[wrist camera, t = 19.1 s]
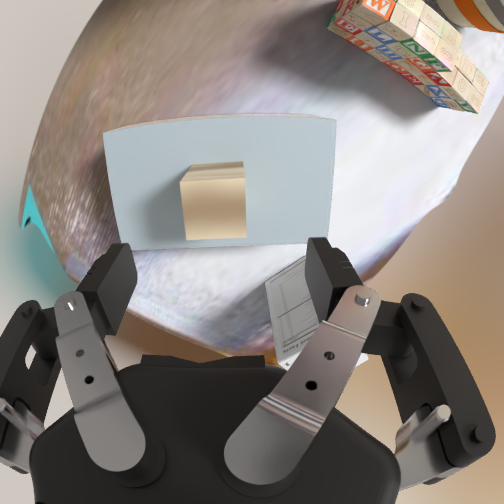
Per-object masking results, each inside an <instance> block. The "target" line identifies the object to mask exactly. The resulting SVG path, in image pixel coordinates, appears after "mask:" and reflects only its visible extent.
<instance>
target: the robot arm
mask: <svg viewBox="0 0 504 504" xmlns="http://www.w3.org/2000/svg"><path fill="white" fill-rule="evenodd" d="M305 280H306V283H307V286H308V289H309V292H310V296H311V299H312V302H313V305H314V308H315V311H316V314H317V318H318V321H319V324H320V325H319V326H318V328H317V329H316V331H315V332H314V334H313V335H312V337H311V338H310V340H309V341H308V343H307V344H306V345H305V347H304V348H303V350H302V351H301V353H300V354H299V355H298V357H297V358H296V360H295V361H294V362H293V364H292V365H291V367H290V368H289V369H288V371H286V370H284V369H282V368H279V367H276V366H272V365H267V364H265V359H264V355H260V356H233V357H228V358H224V359H220V360H215V361H210V362H205V363H197V362H192V361H188V360H184V359H180V358H177V357H173V356H160V355H142V359H141V363H139V364H135V365H131V366H128V367H126V368H124V369H122V370H120V371H119V370H118V368H117V366H116V364H115V362H114V359H113V358H112V355H111V353H110V351H109V349H108V346H107V344H106V342H105V340H104V338H105V335H116V333H117V331H118V328H119V326H120V323H121V321H122V318H123V316H124V313H125V311H126V308H127V306H128V303H129V301H130V298H131V296H132V294H133V291H134V289H135V287H136V284H137V270H136V266H135V263H134V259H133V255H132V251H131V247H130V245H129V244H128V243H114V244H112V245H111V246H110V248H109V249H108V251H107V252H106V254H103V255H102V256H101V257H99V258H98V259H97V260H96V261H95V262H94V264H93V265H92V267H91V269H89V271H88V272H87V275H85V277H84V279H83V280H82V282H81V283H80V285H79V286H78V288H77V290H76V291H72V292H68V293H66V294H64V295H62V296H61V297H60V298H59V299H58V300H57V301H56V303H55V305H54V307H52V308H48V309H41V307H40V305H39V303H38V302H37V301H35V300H30V301H27V302H25V303H23V304H22V305H20V306H19V308H17V310H16V311H15V313H14V315H13V316H12V318H11V319H10V321H9V323H8V324H7V326H6V328H5V330H4V331H3V333H2V335H1V337H0V462H1V463H3V464H4V465H6V466H9V467H10V468H12V469H14V470H16V471H17V472H19V473H22V474H27V473H31V477H32V481H33V487H34V495H35V504H395V501H396V498H397V495H398V492H399V491H401V490H404V489H407V488H410V487H413V486H415V485H418V484H421V483H423V484H427V485H431V484H435V483H437V482H439V481H441V480H443V479H445V478H447V477H449V476H451V475H453V474H454V473H456V472H458V471H460V470H462V469H463V468H465V467H467V466H468V465H470V464H471V463H473V462H475V461H476V460H478V459H480V458H481V457H483V456H484V455H486V454H487V453H488V452H489V451H490V450H491V449H492V447H493V445H494V443H495V438H496V435H495V434H496V433H495V428H494V425H493V422H492V420H491V417H490V415H489V412H488V410H487V407H486V405H485V403H484V400H483V398H482V396H481V394H480V391H479V389H478V387H477V385H476V383H475V381H474V379H473V376H472V374H471V372H470V370H469V368H468V366H467V364H466V362H465V360H464V358H463V356H462V355H461V353H460V351H459V349H458V347H457V346H456V344H455V342H454V340H453V338H452V336H451V334H450V333H449V331H448V329H447V328H446V326H445V324H444V322H443V321H442V319H441V317H440V316H439V314H438V313H437V311H436V309H435V308H434V306H433V305H432V303H431V302H430V301H429V300H428V299H427V298H425V297H424V296H422V295H419V294H415V293H409V294H406V295H405V296H403V298H402V300H401V302H400V303H394V302H386V301H382V300H381V298H380V296H379V294H378V293H377V292H376V291H375V290H373V289H372V288H369V287H367V286H364V285H363V284H362V282H361V280H360V278H359V276H358V275H357V273H356V271H355V269H354V268H353V266H352V264H351V263H350V262H349V259H348V258H347V256H346V254H345V253H344V252H342V251H341V250H340V249H338V248H332V247H331V245H330V243H329V242H328V240H327V238H326V237H309V238H308V242H307V252H306V260H305ZM31 345H32V346H33V348H34V349H35V351H36V354H35V357H34V359H33V361H32V364H31V366H30V368H29V370H28V368H27V367H26V363H25V357H26V354H27V352H28V350H29V348H30V346H31ZM361 353H365V354H374V355H381V358H382V361H383V363H384V366H385V369H386V372H387V375H388V378H389V381H390V384H391V387H392V390H393V393H394V396H395V400H396V403H397V406H398V410H399V413H400V416H401V420H402V423H403V425H402V426H401V427H400V428H399V430H398V431H397V434H396V439H395V440H396V450H395V453H394V454H393V453H392V451H391V450H390V449H389V448H388V447H387V446H385V445H384V444H383V443H381V442H380V441H378V440H377V439H376V438H374V437H373V436H371V435H370V434H369V433H367V432H366V431H365V430H363V429H362V428H361V427H359V426H358V425H357V424H356V423H354V422H353V421H351V420H350V419H349V418H348V417H346V416H345V415H344V414H342V413H341V412H340V411H339V410H337V409H336V408H335V405H336V403H337V401H338V400H339V397H340V396H341V394H342V392H343V390H344V388H345V386H346V384H347V382H348V380H349V378H350V376H351V374H352V372H353V370H354V368H355V366H356V364H357V361H358V359H359V357H360V355H361ZM61 367H62V370H63V373H64V376H65V380H66V384H67V387H68V390H69V394H70V397H71V400H72V403H73V406H74V407H73V408H72V409H70V410H69V411H68V412H67V413H65V414H64V415H63V416H62V417H61V418H59V419H58V420H57V421H56V422H54V423H53V424H52V425H51V426H49V427H48V428H47V429H46V430H45V428H44V420H45V416H46V413H47V410H48V406H49V403H50V399H51V396H52V393H53V390H54V387H55V384H56V381H57V378H58V375H59V373H60V370H61Z"/></svg>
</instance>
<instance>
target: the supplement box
mask: <svg viewBox="0 0 504 504" xmlns="http://www.w3.org/2000/svg"><path fill="white" fill-rule="evenodd" d="M305 260H306V256H304V257H303V258H301V259H300V260H298V261H297V262H295V263H293V264H292V265H290V266H289V267H287V268H286V269H284V270H283V271H281V272H280V273H278V274H277V275H275V276H274V277H272V278H271V279H269V280H267V281H266V282H265V287H266V293H267V300H268V306H269V312H270V318H271V324H272V331H273V337H274V343H275V350H276V356H277V362H278V364H280V365H281V366H282V367H284V368H285V369H286V370H287V371H288V369H289V368H290V367H291V365H292V364H293V362H294V361H295V360H296V358H297V357H298V355H299V354H300V353H301V351H302V350H303V348H304V347H305V345H306V344H307V343H308V341H309V340H310V338H311V337H312V335H313V334H314V332H315V331H316V329H317V328H318V326H319V325H320V324H319V321H318V318H317V314H316V311H315V308H314V305H313V302H312V299H311V296H310V292H309V289H308V286H307V283H306V280H305ZM366 360H368V356H367V354H365V353H361V355H360V357H359V359H358V361H357V364H356V366H358V365H359V364H361V363H363V362H365V361H366ZM356 366H355V367H356Z"/></svg>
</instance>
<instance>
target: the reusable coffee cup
mask: <svg viewBox="0 0 504 504" xmlns="http://www.w3.org/2000/svg"><path fill="white" fill-rule="evenodd" d="M436 1H437V3H438V5H439V7H440V9H441V10H442V12H443V13H444V14H445V16H446V17H447V18H448V19H449V20H450V21H452V22H453V23H454V24H456V25H458V26H460V27H470V28H478V29H480V30H483V31H489V32H497V33H504V0H436Z"/></svg>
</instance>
